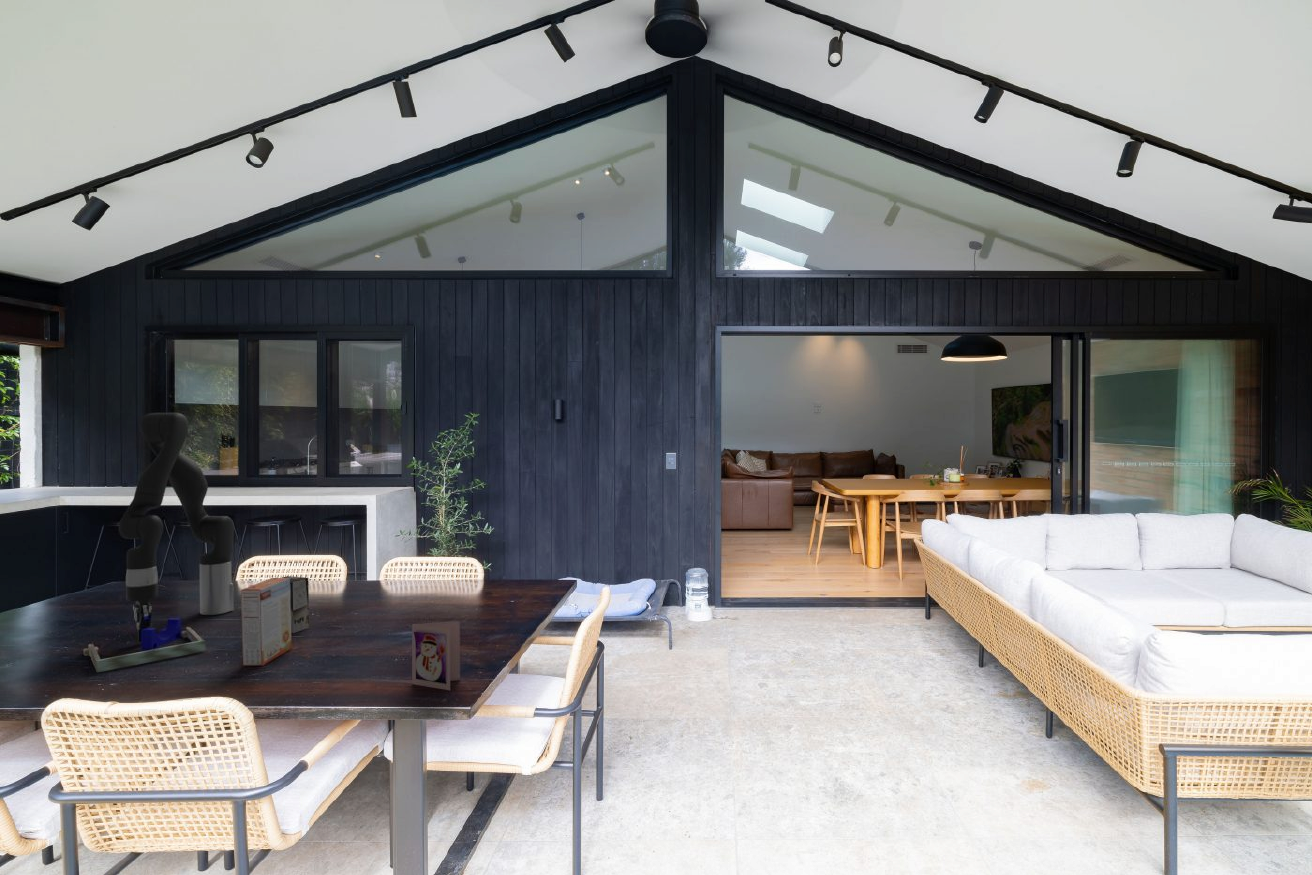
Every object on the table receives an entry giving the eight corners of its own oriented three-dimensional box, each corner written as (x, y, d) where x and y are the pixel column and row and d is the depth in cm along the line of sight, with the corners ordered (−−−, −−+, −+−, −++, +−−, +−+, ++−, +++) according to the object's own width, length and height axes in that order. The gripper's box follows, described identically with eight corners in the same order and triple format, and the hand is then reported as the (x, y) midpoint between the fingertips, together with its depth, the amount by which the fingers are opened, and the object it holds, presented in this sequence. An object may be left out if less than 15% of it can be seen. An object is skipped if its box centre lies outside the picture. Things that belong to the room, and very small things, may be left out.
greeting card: (409, 685, 168) (409, 625, 168) (429, 674, 175) (429, 617, 175) (447, 691, 164) (447, 630, 164) (466, 680, 171) (466, 621, 171)
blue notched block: (166, 637, 206) (166, 617, 206) (181, 637, 206) (181, 618, 206) (136, 650, 194) (135, 629, 194) (151, 650, 194) (151, 629, 194)
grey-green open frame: (192, 633, 210) (192, 623, 210) (209, 650, 194) (209, 639, 194) (83, 653, 191) (83, 642, 191) (92, 673, 176) (91, 661, 176)
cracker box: (271, 649, 195) (271, 577, 195) (292, 649, 195) (291, 577, 195) (240, 666, 181) (239, 588, 181) (262, 666, 181) (261, 588, 180)
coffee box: (310, 627, 216) (309, 577, 215) (293, 633, 210) (292, 581, 209) (288, 625, 219) (287, 575, 218) (271, 630, 213) (270, 579, 212)
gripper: (162, 584, 198) (162, 642, 198) (153, 576, 207) (154, 633, 207) (129, 588, 192) (130, 649, 193) (122, 580, 201) (123, 638, 202)
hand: (143, 640), depth 200 cm, fingers closed
